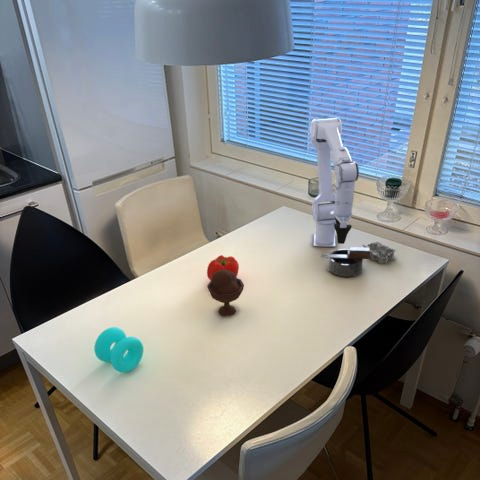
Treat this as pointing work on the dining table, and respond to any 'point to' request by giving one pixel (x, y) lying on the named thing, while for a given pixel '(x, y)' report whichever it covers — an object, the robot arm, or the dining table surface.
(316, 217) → the robot arm
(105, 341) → the donuts
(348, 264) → the bowl
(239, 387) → the dining table surface
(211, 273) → the tomato
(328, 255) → the knife
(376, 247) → the egg carton
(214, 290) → the ice cream bowl
